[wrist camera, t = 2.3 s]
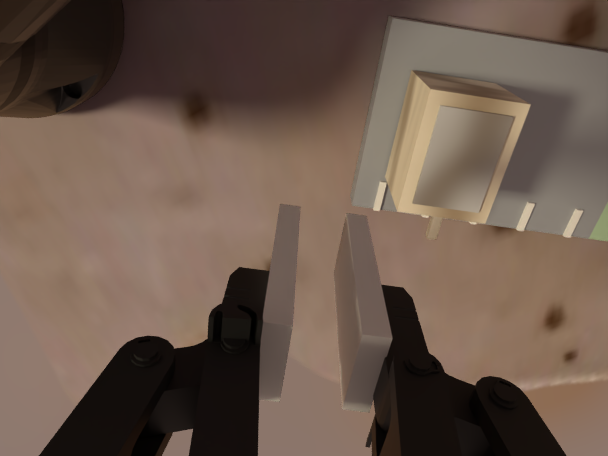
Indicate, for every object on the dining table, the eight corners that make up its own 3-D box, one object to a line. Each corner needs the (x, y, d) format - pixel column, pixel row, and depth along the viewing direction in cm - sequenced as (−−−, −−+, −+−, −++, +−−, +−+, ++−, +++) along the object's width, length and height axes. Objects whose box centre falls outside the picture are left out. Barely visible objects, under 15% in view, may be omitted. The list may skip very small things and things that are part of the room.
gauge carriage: (379, 199, 37) (390, 238, 31) (411, 70, 32) (431, 89, 26) (452, 209, 37) (476, 250, 31) (495, 83, 32) (532, 105, 27)
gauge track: (350, 195, 39) (352, 207, 37) (388, 15, 32) (393, 18, 30) (696, 244, 40) (716, 258, 38) (802, 82, 34) (832, 89, 32)
